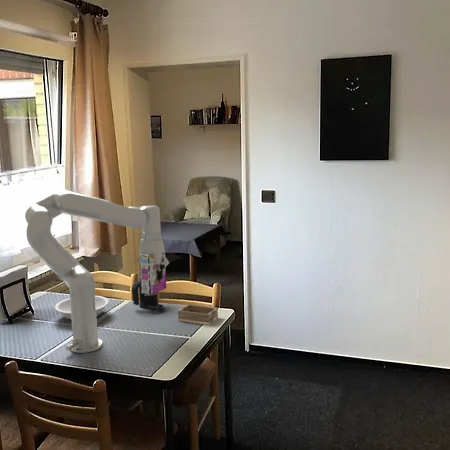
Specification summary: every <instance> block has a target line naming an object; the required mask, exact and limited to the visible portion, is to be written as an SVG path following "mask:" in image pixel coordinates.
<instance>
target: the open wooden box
mask: <svg viewBox="0 0 450 450" xmlns="http://www.w3.org/2000/svg"><path fill="white" fill-rule="evenodd" d="M218 309H219V308H218V307H213V306H212V307H211V306H205V305H204V306H203V305H197V304H196V305H195V304H186V305H184V306H183V307H181V308H180V309H178V310H177V321H179V322H180V321H181V322H186V323H192V322H193V323H194V324H201V325H207V326H208V325H211V324H212V323H214V321H216V320H217V319H218V318H219V312H218V311H219V310H218Z"/></svg>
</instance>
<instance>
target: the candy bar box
mask: <svg viewBox="0 0 450 450" xmlns="http://www.w3.org/2000/svg"><path fill="white" fill-rule="evenodd" d="M139 264H140V275H141V293H142V294H146V295H152V294H154V293H156V292H157V293H158V292H160V291H163V290H165V289H167V270H166V267H167V266H166V267H165V268H164V269H163V278H162V279H161V280H157V271H158V268H157V265H155V264H154V258H153V255H150V254H142V255H140V263H139ZM162 264H164V262H162Z"/></svg>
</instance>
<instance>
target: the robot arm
mask: <svg viewBox="0 0 450 450" xmlns="http://www.w3.org/2000/svg"><path fill="white" fill-rule="evenodd" d="M160 209H161V208H160V207H159V206H157V205H154V204H153V205H152V204H151V205H150V204H149V205H143V206H125V205H120V204H117V203H115V202H111V201H109V200H107V199H102V198H100V197H94V196H90V195H85V194H81V193H77V192H73V191H69V190H66V189H61V190H57V191H56V192H54V193H52V194H50V195H48V196H47V197H45V198H43V199H41V200H39V201H37V202H35V203H34V204H32V205H30V206H29V207H28V208H27V209H26V211H25V215H24V217H25V221H26V223H27V226H26V238H27V242H28V244H29V246H30V247H31V248H32V250H33V251H35V254H37V255H38V256H39V258H41V259H42V260H43V262H44V263H45V264H46V265H47V267H48V268H49V269H50V271H52V272H53V273H54V274H56V276H57V277H58V278H59V279H60V280H61V281H62V282H63V283H65V284H66V286H67V287H68V289H69V298H70V310H71V319H70V320H71V328H72V329H71V331H72V339H71V343H69V344H67V345H66V346H65V350H66V351H68V352H69V351H71V352H72V353H77V354H84V353H85V354H86V353H90V352H91V353H93V352H94V351H97V350H100V349H101V348H102V347H103V345H104V342H103V340H102V339H100V338H99V332H98V331H99V330H98V321H97V316H96V307H95V296H96V294H95V293H96V281H95V278H94V276H93V275H92V273H91V271H89V270H88V269H86V268H85V267H84V266H83V264H81V263H80V262H79V261H78V260H77V258H75V256H74V255H73V254H72V253H71V252H70V251H69V250H68V249H67V248H65V247H64V246H63V245H62V244H61V242H59V241H58V240H57V238H56V237H55V236H53V233H52V231H51V228H52V226H53V222H54V219H55V218H56V217H58V216H60V215H61V214H64V215H69V216H72V217H73V216H74V217H80V218H85V219H88V220H89V219H90V220H92V221H93V220H94V221H97V222H98V221H99V222H102V223H109V224H112V225H113V224H114V225H117V226H122V227H127V228H133V229H140V228H141V232H140V233H139V235H140V236H141V237H142V238H140V242H139V250H138V251H139V255H138V256H139V257H138V258H137V260H136V262H137V263H139V264H140V255H142V254H150V255H153V258H154V264H155V265H157V268H158V271H157V280H161V279H162V278H163V269H164V268H165V267H167V266H168V265H169V264H170V261H169V260H168V258H167V256H166V251H165V245H164V244H165V243H164V241H163V238H162V232H161V231H162V230H161V228H162V227H161V213H160V211H161V210H160ZM162 262H164V264H162Z"/></svg>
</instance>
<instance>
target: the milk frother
mask: <svg viewBox="0 0 450 450" xmlns="http://www.w3.org/2000/svg"><path fill="white" fill-rule="evenodd" d="M137 278H138V280H136V281H135V282H134V283H133V284H132V285H131V293H132V294H131V295H132V303H133V305H135V306H139V307H140V308H142V309H155V310H158V311H160V312H162V311H163V310H165V309H166V308H165V307H164V306H163V304H159V301H158V300H159V299H158V292H156V293H154V294H152V295H146V294H142V293H141V274H139V275H138V276H137Z"/></svg>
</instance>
